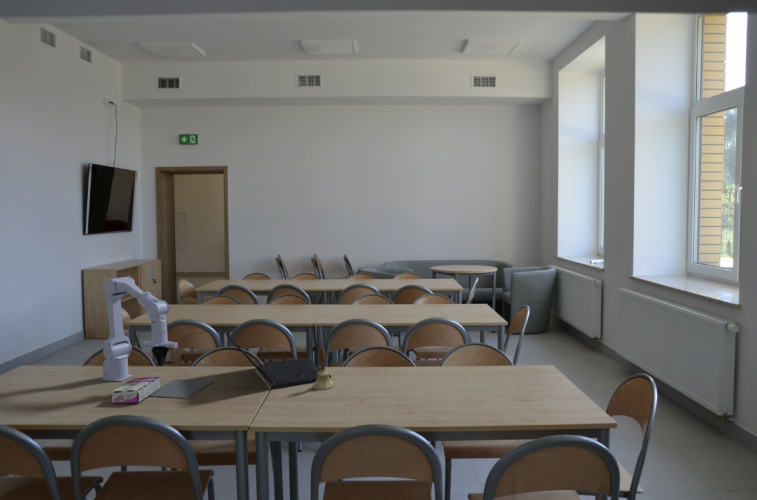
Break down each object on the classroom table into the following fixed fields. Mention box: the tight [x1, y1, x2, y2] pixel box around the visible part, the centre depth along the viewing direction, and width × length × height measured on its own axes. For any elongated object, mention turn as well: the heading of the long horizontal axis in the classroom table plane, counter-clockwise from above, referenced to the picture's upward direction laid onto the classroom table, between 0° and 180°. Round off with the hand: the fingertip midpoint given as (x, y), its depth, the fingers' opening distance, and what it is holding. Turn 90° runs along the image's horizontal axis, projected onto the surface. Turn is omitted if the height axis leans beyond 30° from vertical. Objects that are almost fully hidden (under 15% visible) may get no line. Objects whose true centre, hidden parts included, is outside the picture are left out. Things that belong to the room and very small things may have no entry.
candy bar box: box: [109, 376, 162, 405], centre depth 207 cm, size 11×5×16 cm
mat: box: [148, 378, 215, 400], centre depth 215 cm, size 18×20×1 cm
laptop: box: [223, 330, 332, 388], centre depth 227 cm, size 33×38×19 cm
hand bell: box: [312, 346, 335, 391], centre depth 211 cm, size 8×8×16 cm
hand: (161, 364), depth 216 cm, fingers closed
